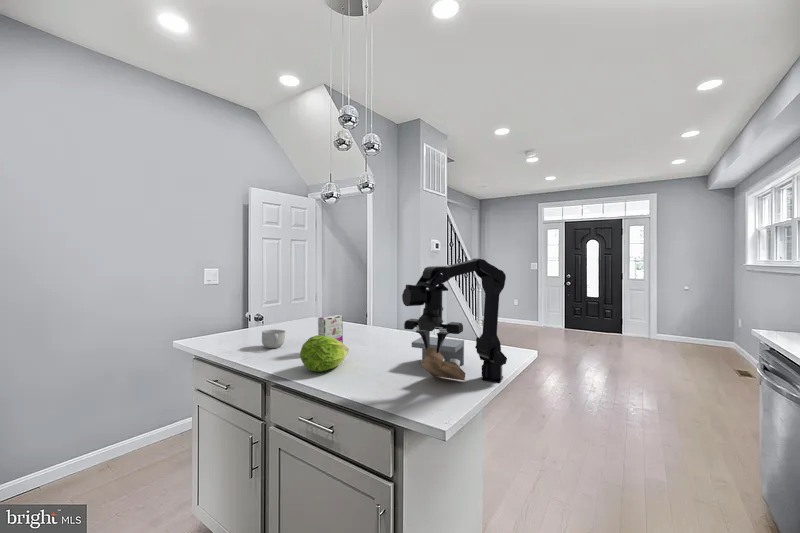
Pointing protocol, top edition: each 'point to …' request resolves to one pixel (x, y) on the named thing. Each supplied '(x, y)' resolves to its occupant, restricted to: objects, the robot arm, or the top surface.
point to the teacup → (273, 338)
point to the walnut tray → (442, 365)
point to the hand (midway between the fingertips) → (432, 352)
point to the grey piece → (444, 348)
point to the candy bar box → (331, 327)
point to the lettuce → (322, 353)
